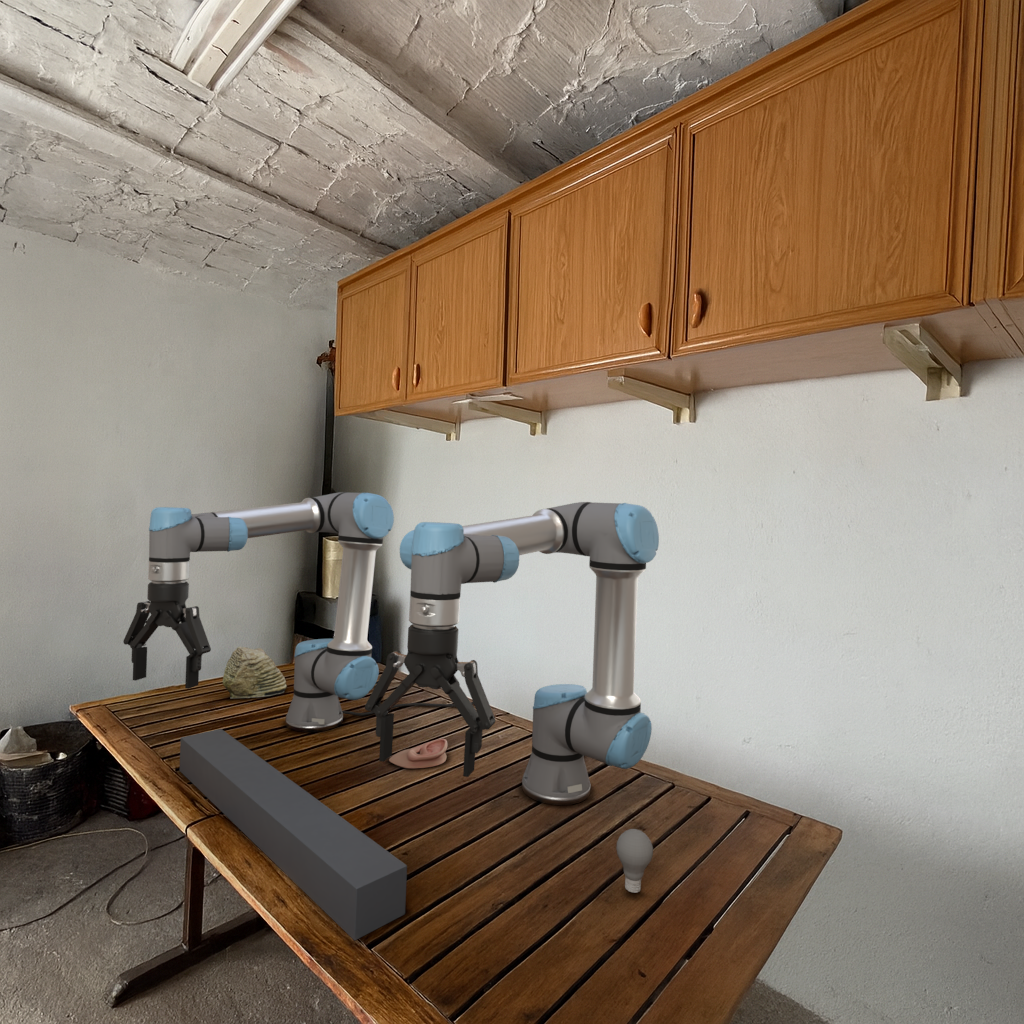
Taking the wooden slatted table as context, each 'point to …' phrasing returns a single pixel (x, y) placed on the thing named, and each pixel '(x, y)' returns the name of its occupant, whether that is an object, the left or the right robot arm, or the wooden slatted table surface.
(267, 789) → the long dark gray bar
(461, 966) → the wooden slatted table surface
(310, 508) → the left robot arm
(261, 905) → the wooden slatted table surface
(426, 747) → the anatomical model
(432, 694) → the wooden slatted table surface
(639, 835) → the light bulb
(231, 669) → the fossil
